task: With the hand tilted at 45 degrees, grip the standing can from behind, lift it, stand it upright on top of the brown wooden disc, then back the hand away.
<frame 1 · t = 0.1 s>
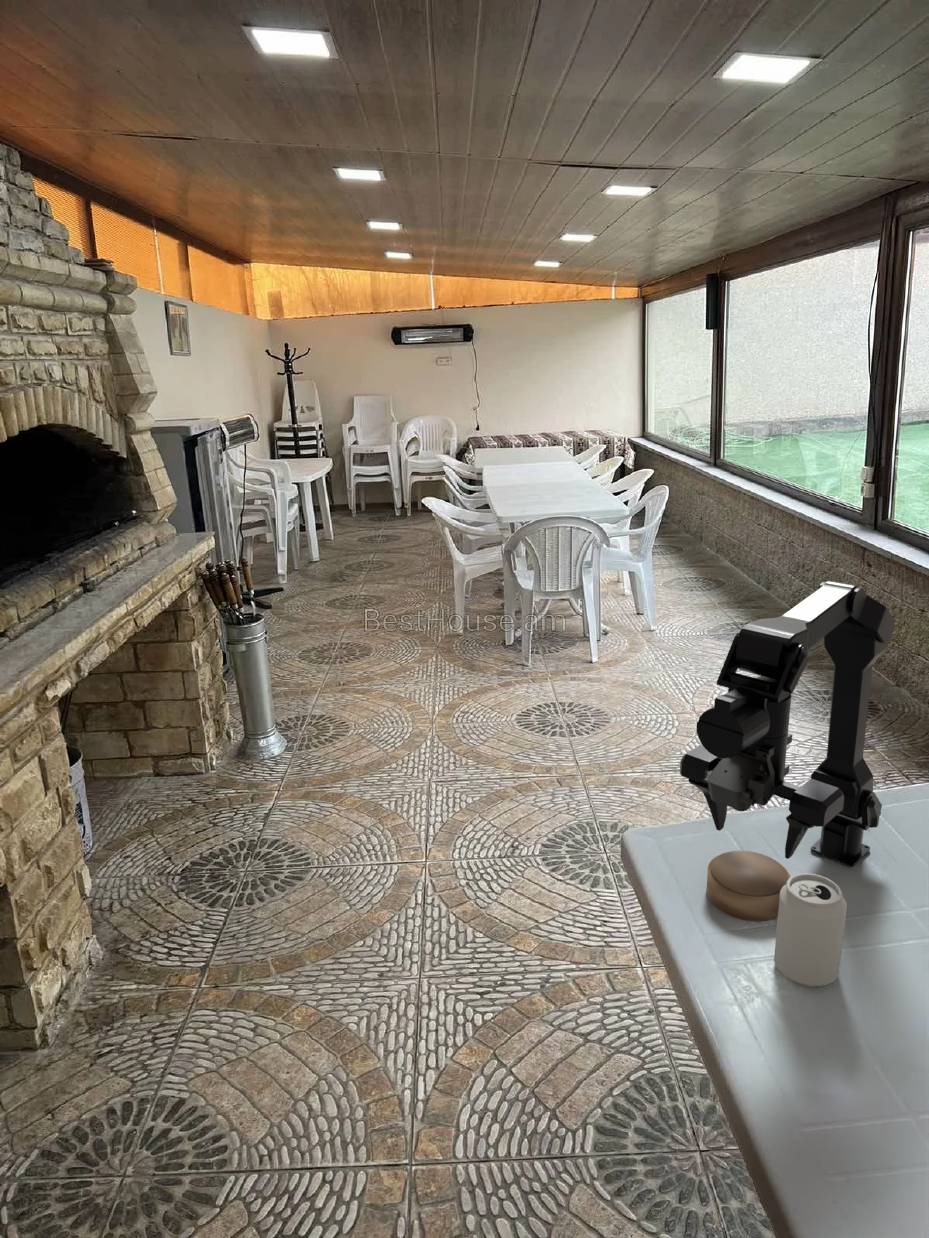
hand: (753, 842, 107), 15 cm above the table, tool pointing down, fingers open, 9 cm apart
brown wooden disc: (747, 895, 120), on the table
can: (805, 971, 106), on the table
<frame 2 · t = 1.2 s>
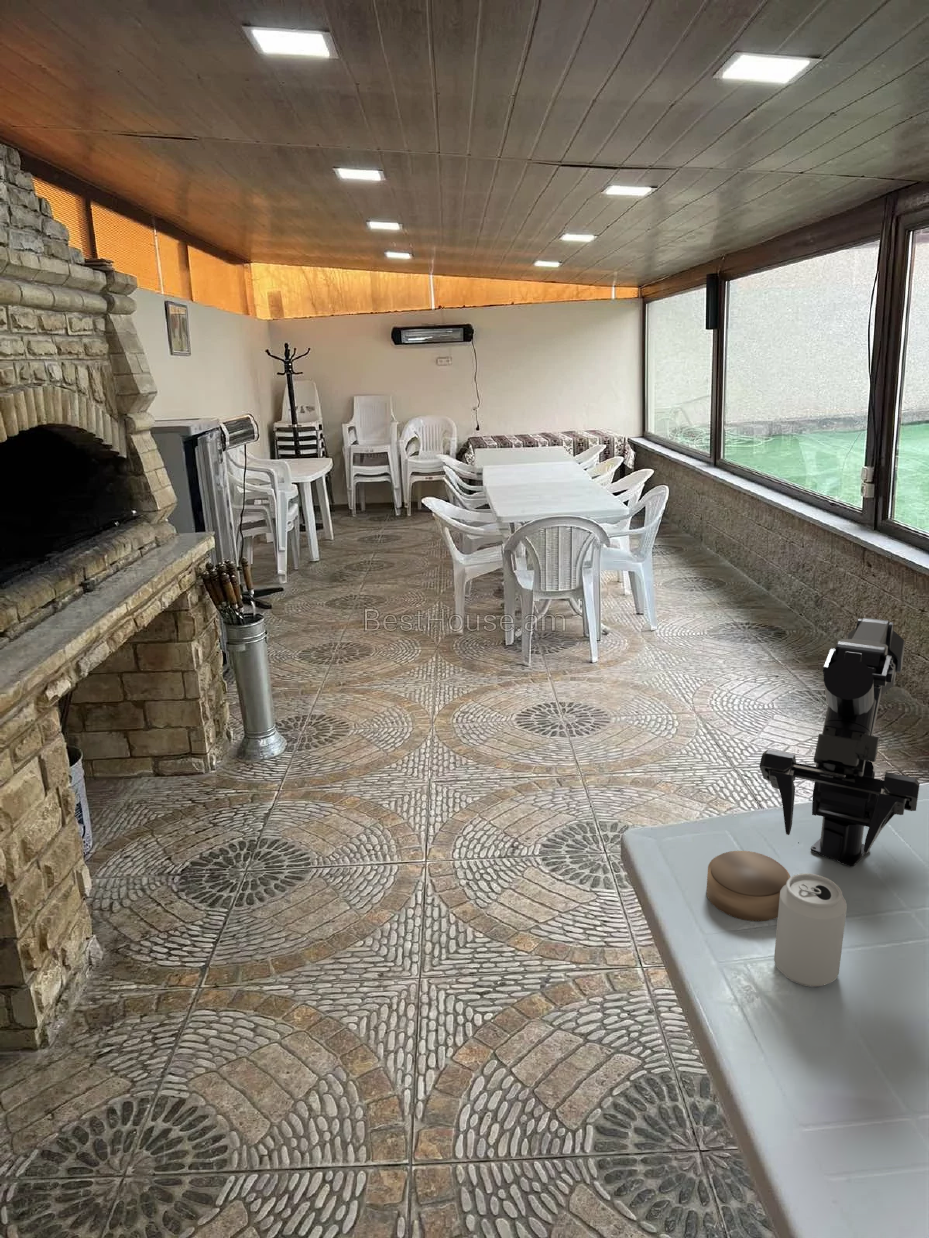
hand: (825, 843, 109), 13 cm above the table, tool tilted 45°, fingers open, 9 cm apart
nothing on the table moved.
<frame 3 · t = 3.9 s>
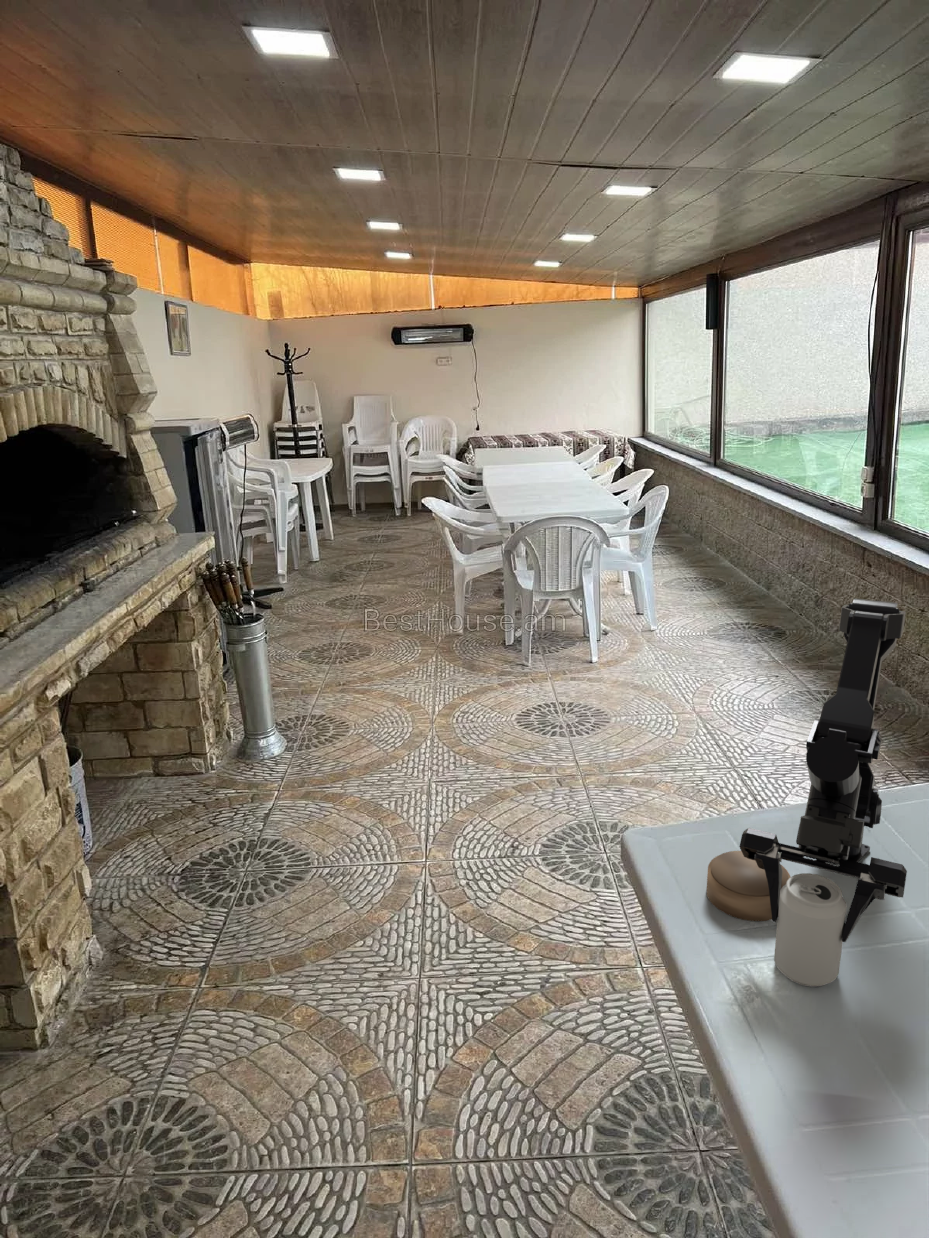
hand: (808, 931, 103), 7 cm above the table, tool tilted 45°, fingers closed on can, 7 cm apart
can: (805, 970, 106), on the table, touching gripper
when the fingers open (11 cm above the table, at t = 7.6 s): can stays where it is, resting on brown wooden disc.
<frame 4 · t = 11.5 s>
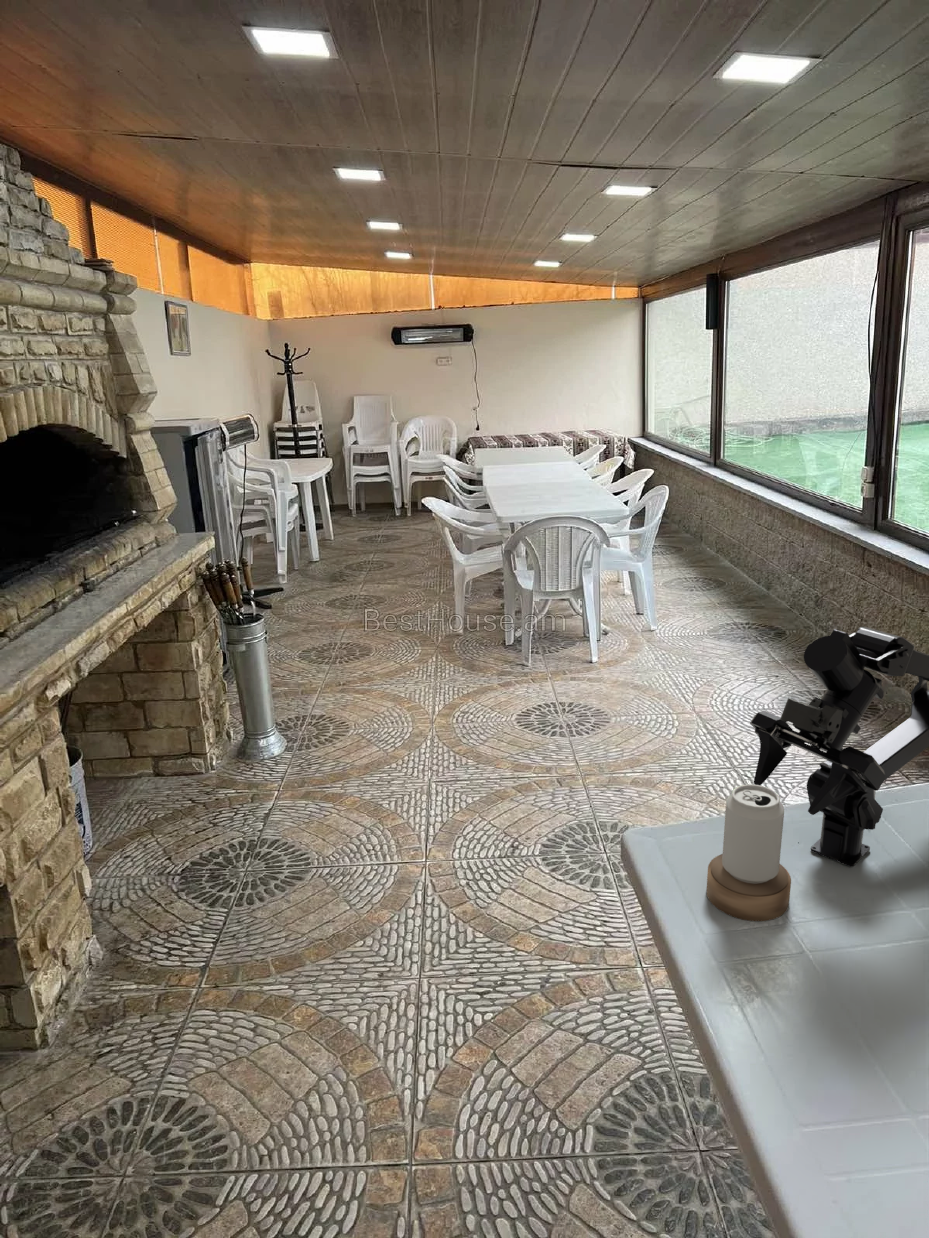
hand: (782, 798, 119), 14 cm above the table, tool tilted 45°, fingers open, 9 cm apart
can: (749, 872, 119), point 4 cm above the table, touching brown wooden disc
at the end: can 0.2 cm off-centre on the brown wooden disc, point 3.8 cm above the brown wooden disc's base; can tilted 0°; the gripper is holding nothing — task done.
